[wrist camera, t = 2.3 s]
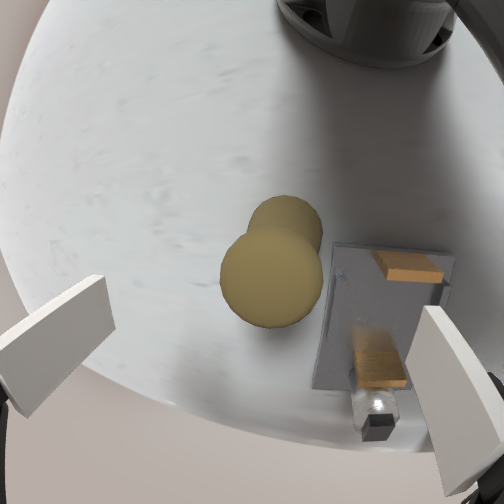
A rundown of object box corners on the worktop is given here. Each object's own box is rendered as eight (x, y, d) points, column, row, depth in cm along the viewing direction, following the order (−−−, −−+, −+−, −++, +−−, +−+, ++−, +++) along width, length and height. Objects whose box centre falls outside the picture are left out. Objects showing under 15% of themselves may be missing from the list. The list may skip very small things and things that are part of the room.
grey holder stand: (333, 242, 23) (347, 287, 15) (449, 252, 21) (500, 294, 13) (312, 380, 27) (309, 446, 19) (408, 382, 25) (425, 441, 17)
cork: (263, 275, 25) (231, 356, 14) (237, 209, 23) (182, 251, 13) (331, 256, 23) (347, 331, 13) (308, 185, 22) (311, 208, 11)
